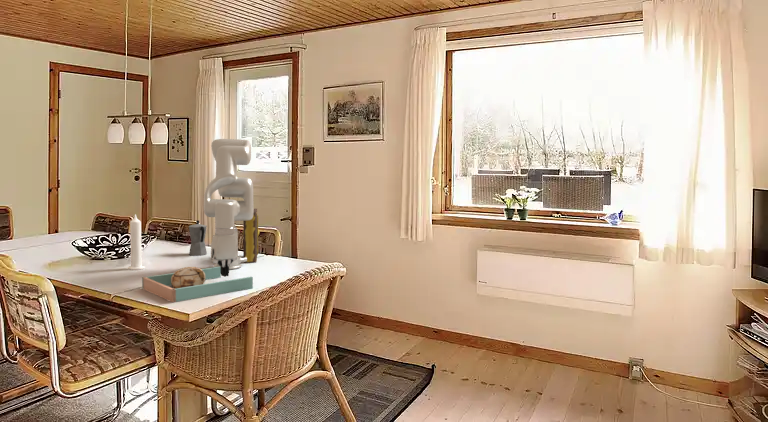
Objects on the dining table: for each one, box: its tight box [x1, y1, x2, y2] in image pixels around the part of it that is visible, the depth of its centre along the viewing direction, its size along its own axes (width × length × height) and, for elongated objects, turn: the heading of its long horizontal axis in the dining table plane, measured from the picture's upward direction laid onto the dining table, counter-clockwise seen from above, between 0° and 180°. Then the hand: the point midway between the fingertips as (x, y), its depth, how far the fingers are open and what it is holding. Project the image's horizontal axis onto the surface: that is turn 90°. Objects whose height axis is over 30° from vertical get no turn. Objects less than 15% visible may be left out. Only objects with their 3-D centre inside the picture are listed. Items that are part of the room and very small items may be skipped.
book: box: [242, 208, 260, 264], centre depth 279 cm, size 22×8×25 cm, turn 12°
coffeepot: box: [188, 220, 208, 257], centre depth 287 cm, size 15×9×18 cm, turn 37°
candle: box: [127, 213, 146, 271], centre depth 249 cm, size 7×7×25 cm
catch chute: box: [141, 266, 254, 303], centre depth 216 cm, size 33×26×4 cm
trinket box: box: [171, 266, 206, 289], centre depth 219 cm, size 13×15×8 cm
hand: (224, 275), depth 225 cm, fingers closed
